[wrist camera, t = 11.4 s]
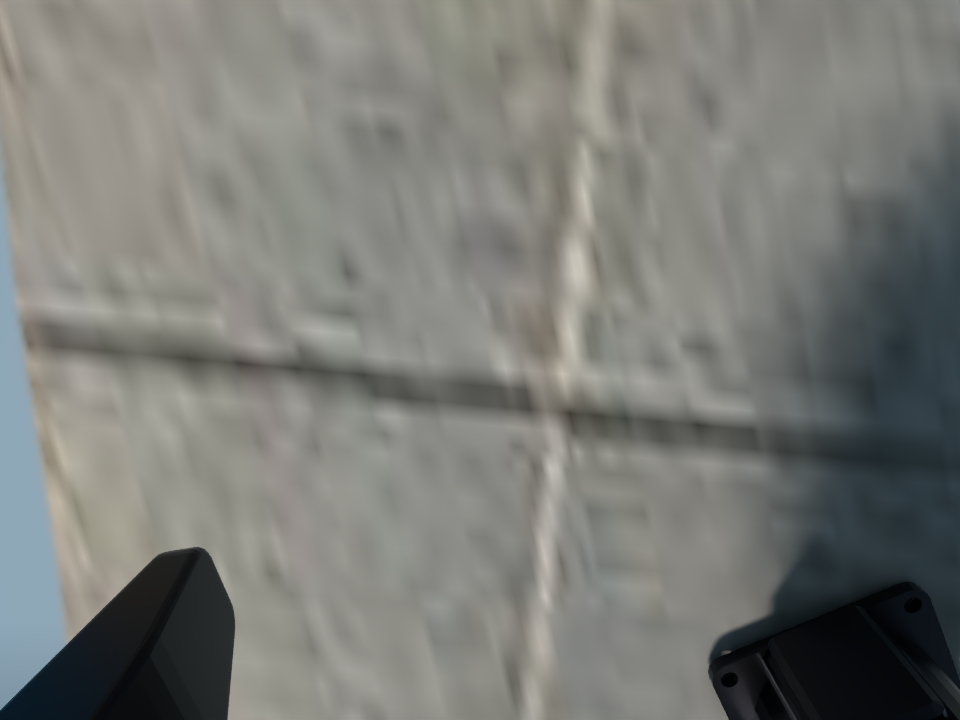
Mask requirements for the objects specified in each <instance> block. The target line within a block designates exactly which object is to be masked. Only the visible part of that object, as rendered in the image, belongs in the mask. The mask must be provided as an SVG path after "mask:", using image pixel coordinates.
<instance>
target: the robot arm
mask: <svg viewBox="0 0 960 720" xmlns="http://www.w3.org/2000/svg"><path fill="white" fill-rule="evenodd" d="M910 598H914V599H913V600H912V602H910V603H909V604H906V605H904V604H905V602H906V601H907V600H908V599H910ZM234 636H235V617H234V610H233V606H232V604H231V601H230V599H229V596H228V594H227V592H226V590H225V587H224V585H223V583H222V581H221V578H220V576H219V574H218V572H217V569H216V567H215V565H214V563H213V560H212V558H211V556H210V555H209V553H208V552H207V551H206V550H205V549H203V548H200V547H193V548H187V549H180V550H174V551H168V552H164V553H161V554H159V555H158V556H156V557H155V558H154V559H153V560H152V561H151V562H150V563H149V564H148V565H147V566H146V567H145V568H144V569H143V570H142V571H141V572H140V573H139V574H138V575H137V576H136V577H135V578H134V579H133V580H132V581H131V582H130V583H129V584H128V585H127V586H126V587H124V588H123V589H122V590H121V591H120V592H119V593H118V594H117V595H116V596H115V597H114V598H113V599H112V600H111V601H110V602H109V603H108V604H107V605H106V606H105V607H104V608H103V609H102V610H101V611H100V612H99V613H98V614H97V615H96V616H95V617H94V618H93V619H92V620H91V621H90V622H89V623H88V624H87V625H86V626H85V627H84V628H83V629H82V630H81V631H80V632H79V633H78V634H77V635H76V636H75V637H74V638H73V639H72V640H71V641H70V642H69V643H68V644H67V645H66V646H65V647H64V648H63V649H62V650H61V651H60V652H59V653H58V654H57V655H56V656H55V657H54V658H53V659H52V660H51V661H50V662H49V663H48V664H47V665H46V666H45V667H44V668H43V669H42V670H41V671H40V672H39V673H38V674H36V676H35V677H33V678H32V679H31V680H30V682H28V683H27V684H26V685H25V686H24V687H23V688H22V689H21V690H20V691H19V692H18V693H17V694H16V695H15V696H14V697H13V698H12V699H11V700H10V701H9V702H8V703H7V704H6V705H5V706H4V707H3V708H2V709H1V710H0V720H227V718H228V706H229V695H230V683H231V671H232V659H233V648H234ZM729 672H732V675H731V676H729V677H726V678H722V676H723V675H724V674H726V673H729ZM708 674H709V678H710V680H711V682H712V684H713V687H714V689H715V691H716V693H717V695H718V697H719V699H720V701H721V703H722V706H723V708H724V710H725V712H726V714H727V716H728V718H729V720H960V680H959V677H958V674H957V672H956V669H955V666H954V663H953V660H952V658H951V655H950V652H949V649H948V647H947V644H946V641H945V638H944V635H943V633H942V630H941V627H940V624H939V622H938V619H937V616H936V613H935V610H934V608H933V605H932V602H931V599H930V597H929V596H928V594H927V593H926V592H925V591H924V590H923V589H922V588H921V587H920V586H919V585H917V584H915V583H913V582H904V583H900V584H897V585H895V586H892V587H890V588H888V589H885V590H883V591H880V592H878V593H875V594H873V595H870V596H868V597H866V598H863V599H861V600H858V601H856V602H853V603H851V604H848V605H846V606H844V607H841V608H839V609H836V610H834V611H831V612H829V613H827V614H824V615H822V616H819V617H817V618H814V619H812V620H809V621H807V622H805V623H802V624H800V625H797V626H795V627H792V628H790V629H787V630H785V631H783V632H780V633H778V634H775V635H773V636H770V637H768V638H765V639H763V640H761V641H758V642H756V643H753V644H751V645H748V646H746V647H744V648H741V649H739V650H736V651H734V652H731V653H729V654H726V655H724V656H722V657H719V658H717V659H716V660H714V661H713V662H712V663H711V665H710V666H709V670H708Z"/></svg>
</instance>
